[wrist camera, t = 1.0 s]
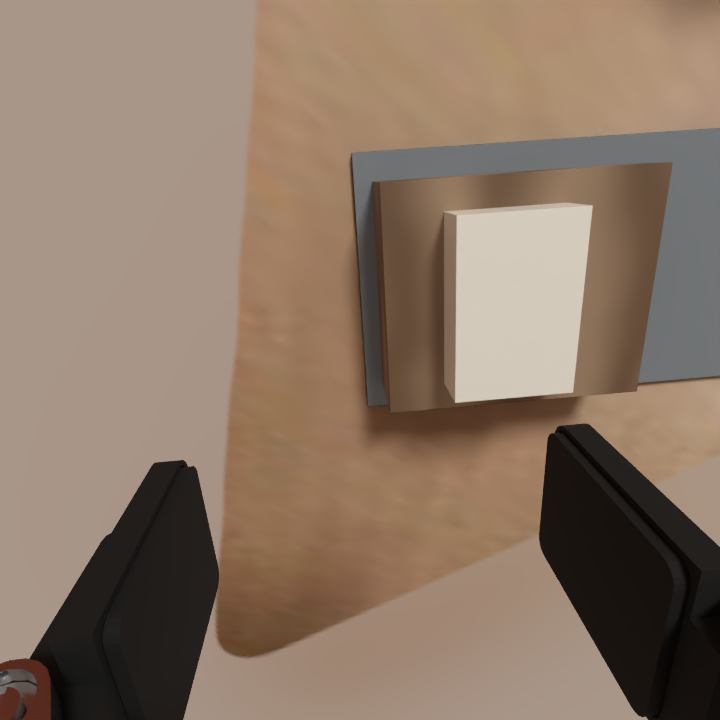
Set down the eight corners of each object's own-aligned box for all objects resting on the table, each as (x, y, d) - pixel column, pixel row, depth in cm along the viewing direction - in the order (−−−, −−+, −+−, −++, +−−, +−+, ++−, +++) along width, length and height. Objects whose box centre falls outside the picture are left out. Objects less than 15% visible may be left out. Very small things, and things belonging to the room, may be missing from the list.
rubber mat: (884, 117, 27) (892, 116, 27) (811, 365, 32) (816, 367, 32) (351, 153, 26) (351, 152, 25) (367, 403, 31) (368, 406, 31)
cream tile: (567, 202, 23) (592, 205, 21) (552, 374, 26) (573, 392, 24) (443, 211, 23) (456, 215, 21) (444, 383, 26) (455, 403, 24)
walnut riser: (620, 164, 27) (672, 162, 23) (596, 363, 31) (636, 391, 27) (371, 181, 26) (380, 182, 22) (382, 381, 31) (390, 412, 27)
